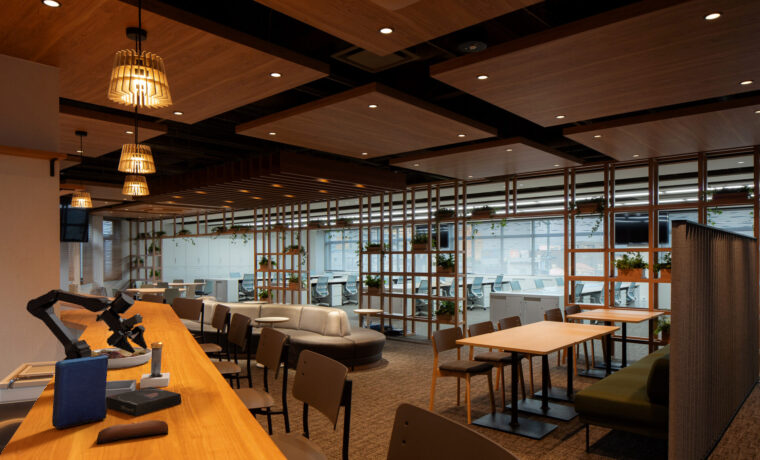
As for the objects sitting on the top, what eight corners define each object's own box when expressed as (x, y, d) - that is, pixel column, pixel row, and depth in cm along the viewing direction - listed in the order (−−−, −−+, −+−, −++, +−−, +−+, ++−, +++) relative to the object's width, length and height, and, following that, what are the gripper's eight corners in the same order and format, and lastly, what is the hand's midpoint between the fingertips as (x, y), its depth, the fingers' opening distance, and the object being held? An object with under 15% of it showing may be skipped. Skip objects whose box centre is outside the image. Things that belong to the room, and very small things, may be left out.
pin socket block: (139, 387, 190) (140, 379, 190) (142, 381, 200) (143, 374, 200) (168, 386, 194) (168, 378, 194) (169, 380, 203) (169, 372, 203)
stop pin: (148, 385, 194) (150, 344, 195) (149, 382, 198) (151, 342, 199) (160, 384, 195) (162, 343, 196) (161, 382, 199) (163, 342, 200)
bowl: (84, 359, 240) (85, 342, 241) (152, 355, 253) (152, 339, 253) (75, 372, 213) (76, 354, 214) (152, 367, 226) (153, 350, 226)
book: (102, 416, 156) (105, 352, 157) (109, 420, 152) (112, 354, 154) (49, 428, 145) (53, 358, 146) (56, 432, 141) (60, 361, 142)
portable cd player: (181, 405, 171) (182, 393, 171) (135, 418, 156) (136, 405, 157) (151, 397, 179) (152, 386, 180) (105, 409, 165) (106, 396, 165)
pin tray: (87, 401, 171) (88, 391, 171) (95, 391, 184) (96, 381, 184) (131, 398, 176) (131, 388, 176) (135, 388, 189) (136, 379, 189)
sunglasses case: (164, 425, 149) (167, 409, 146) (166, 444, 143) (169, 427, 141) (96, 435, 140) (97, 417, 137) (95, 455, 134) (96, 438, 132)
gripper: (115, 310, 190) (142, 340, 188) (141, 305, 208) (166, 333, 207) (94, 330, 190) (121, 360, 188) (122, 324, 208) (147, 351, 207)
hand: (140, 350), depth 198 cm, fingers open, 9 cm apart
